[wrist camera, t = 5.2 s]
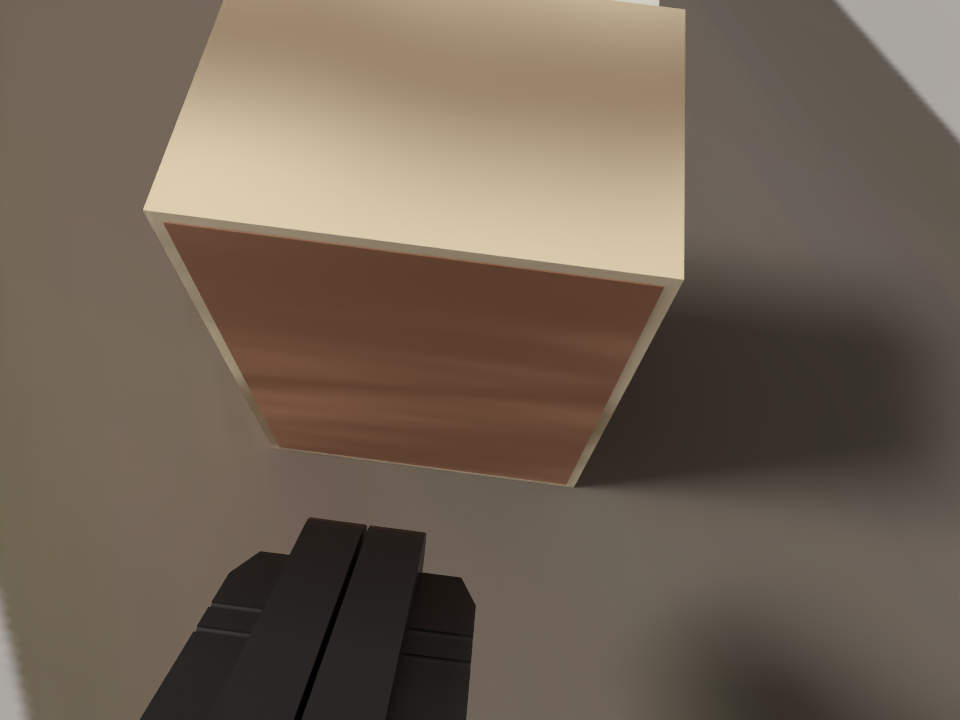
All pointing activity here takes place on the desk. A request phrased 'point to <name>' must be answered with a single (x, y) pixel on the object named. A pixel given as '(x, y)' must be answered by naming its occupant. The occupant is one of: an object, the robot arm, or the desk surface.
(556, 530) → the desk surface
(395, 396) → the maple block
